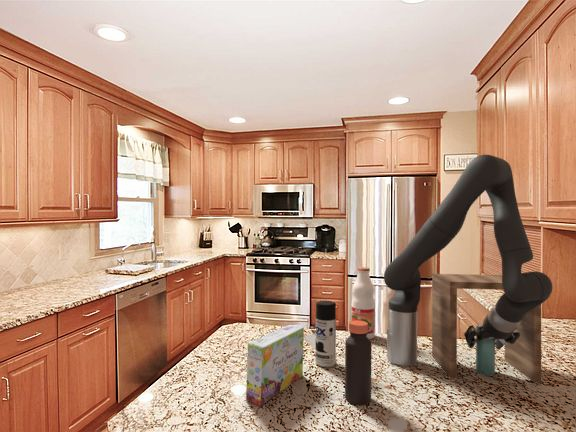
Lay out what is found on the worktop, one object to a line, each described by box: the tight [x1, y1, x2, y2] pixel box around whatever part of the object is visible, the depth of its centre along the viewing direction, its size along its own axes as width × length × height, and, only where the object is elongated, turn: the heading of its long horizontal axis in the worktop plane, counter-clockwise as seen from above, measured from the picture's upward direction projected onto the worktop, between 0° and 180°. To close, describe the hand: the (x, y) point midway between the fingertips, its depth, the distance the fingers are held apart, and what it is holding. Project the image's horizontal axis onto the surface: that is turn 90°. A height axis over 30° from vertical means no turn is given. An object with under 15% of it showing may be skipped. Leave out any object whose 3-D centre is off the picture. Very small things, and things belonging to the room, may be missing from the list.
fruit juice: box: [351, 266, 376, 340], centre depth 142 cm, size 9×9×28 cm
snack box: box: [245, 324, 305, 407], centre depth 97 cm, size 21×6×15 cm, turn 148°
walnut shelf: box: [431, 273, 542, 384], centre depth 111 cm, size 26×16×29 cm, turn 85°
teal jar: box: [475, 324, 496, 376], centre depth 109 cm, size 5×5×14 cm
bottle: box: [344, 320, 373, 406], centre depth 91 cm, size 7×7×20 cm
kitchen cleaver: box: [304, 325, 316, 350], centre depth 139 cm, size 24×1×10 cm
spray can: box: [314, 300, 337, 368], centre depth 114 cm, size 7×7×20 cm
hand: (483, 345), depth 110 cm, fingers open, 8 cm apart
